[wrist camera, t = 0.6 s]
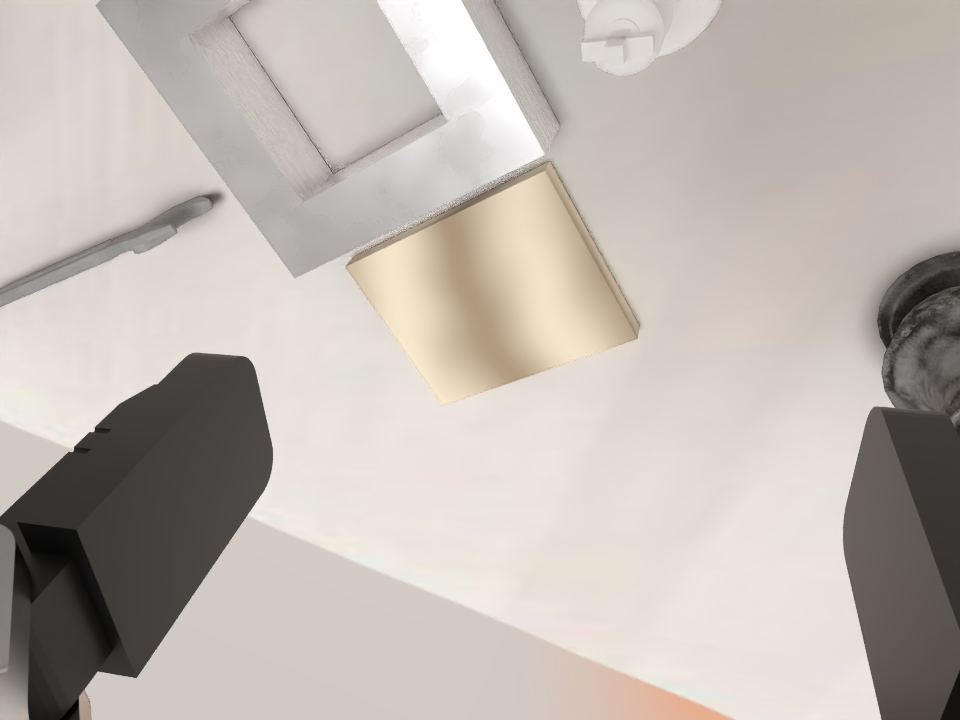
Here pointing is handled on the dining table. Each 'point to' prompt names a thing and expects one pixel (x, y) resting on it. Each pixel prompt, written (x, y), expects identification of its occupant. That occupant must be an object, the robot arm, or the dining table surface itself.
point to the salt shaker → (924, 337)
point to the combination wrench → (109, 250)
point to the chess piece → (640, 30)
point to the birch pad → (496, 289)
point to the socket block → (291, 154)
